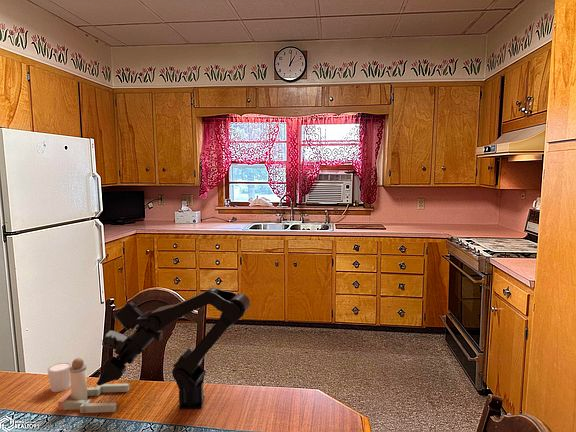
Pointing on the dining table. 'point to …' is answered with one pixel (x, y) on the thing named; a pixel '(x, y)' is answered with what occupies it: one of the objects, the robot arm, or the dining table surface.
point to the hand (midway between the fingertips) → (104, 376)
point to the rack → (86, 405)
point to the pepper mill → (78, 380)
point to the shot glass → (59, 376)
